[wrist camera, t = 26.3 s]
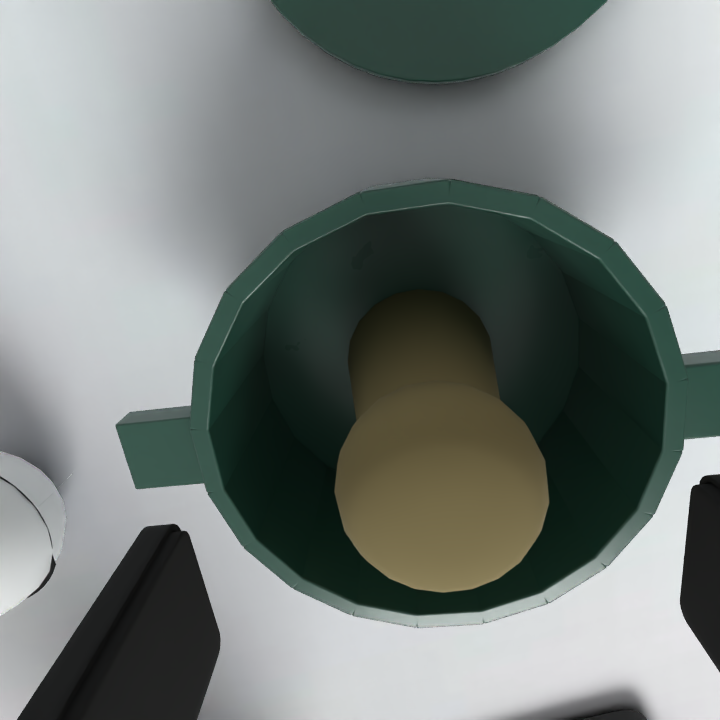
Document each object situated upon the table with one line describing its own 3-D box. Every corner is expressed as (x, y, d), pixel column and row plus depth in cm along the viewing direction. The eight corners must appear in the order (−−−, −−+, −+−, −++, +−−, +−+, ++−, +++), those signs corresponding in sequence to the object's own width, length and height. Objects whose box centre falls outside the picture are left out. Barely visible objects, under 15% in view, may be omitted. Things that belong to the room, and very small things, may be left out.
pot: (156, 217, 21) (35, 238, 14) (667, 143, 19) (833, 123, 12) (233, 513, 25) (172, 642, 18) (648, 478, 23) (760, 608, 16)
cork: (495, 286, 20) (603, 399, 10) (490, 423, 22) (575, 636, 12) (343, 291, 21) (296, 406, 10) (351, 426, 23) (319, 634, 12)
